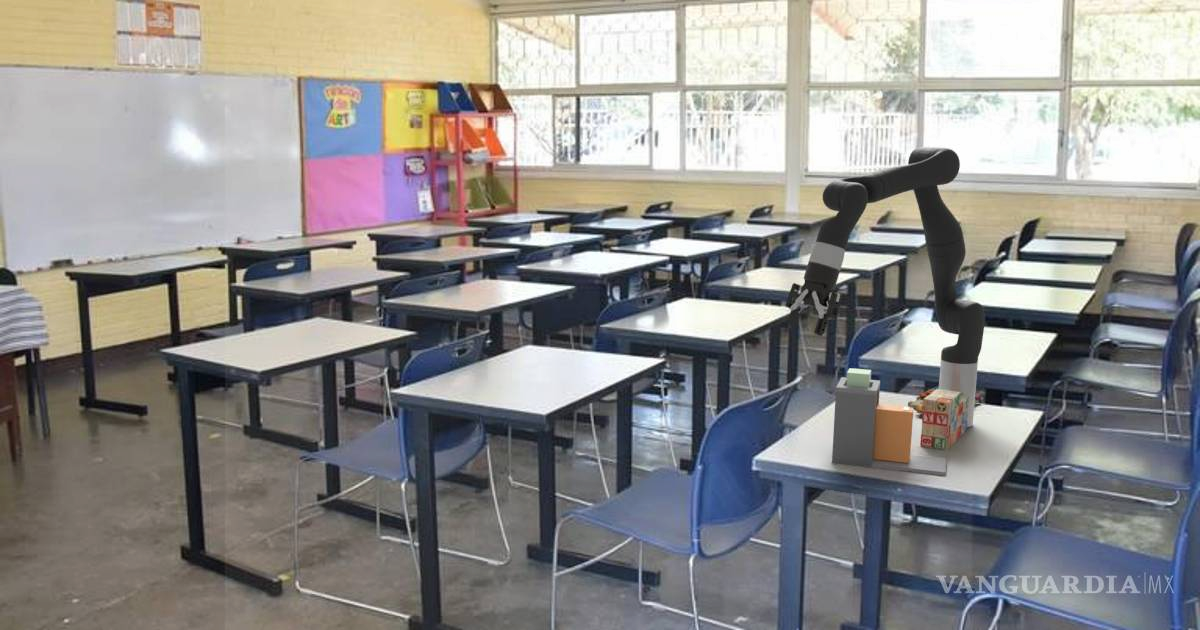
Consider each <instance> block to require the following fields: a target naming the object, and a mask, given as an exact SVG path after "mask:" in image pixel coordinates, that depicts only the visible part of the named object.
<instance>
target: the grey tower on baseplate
mask: <svg viewBox="0 0 1200 630" xmlns="http://www.w3.org/2000/svg"><path fill="white" fill-rule="evenodd" d="M846 384H847V377H845V376H843V377H840V378H839V381H838V383H837V385H836V386H835V400H834V401H835V402H834V418H833V433H832V434H833V435H832V436H833V438H832V455H831V464H832V463H833V464H840V465H847V466H849V465H850V466H858V467H865V466H866V468H873V467H877V468H876V469H882V468H885V469H884V470H891V469H894V470H893V471H899V470H902V471H901V472H908V471H912V472H911V473H917V472H919V473H918V474H927V475H935V476H946V468H947V458H946V457H938V456H929V455H928V456H927V455H919V454H910V461H909V463H903V462H895V461H886V460H877V459H873V455H874V439H875V423H876V409H877V406H878V404H879V405H880V393H881V392H880V390H881V380H876V379H871V383H870V388H865V387H854V386H846Z"/></svg>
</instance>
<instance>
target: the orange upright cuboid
mask: <svg viewBox="0 0 1200 630" xmlns="http://www.w3.org/2000/svg"><path fill="white" fill-rule="evenodd" d="M913 419H914V408H911V407H910V406H909V407H908V406H897V405H889V404H888V405H887V404H880V403H879V404H878V406H877V409H876V423H875V439H874V455H873V459H877V460H886V461H895V462H903V463H909V461H910V455H911V450H912V449H911V448H912V447H911V446H912V436H913V435H912V434H913V432H912V431H913V421H914V420H913Z"/></svg>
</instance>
